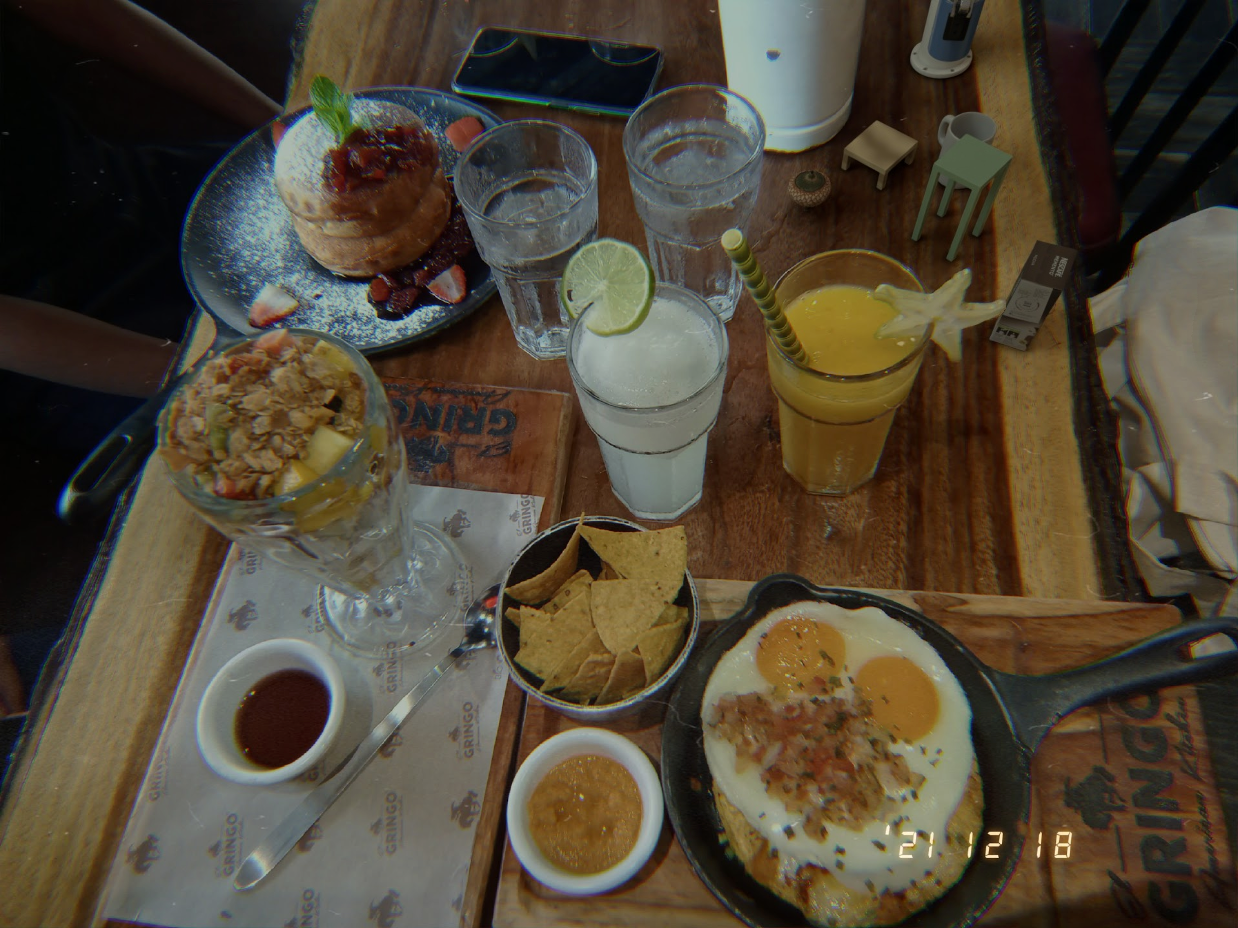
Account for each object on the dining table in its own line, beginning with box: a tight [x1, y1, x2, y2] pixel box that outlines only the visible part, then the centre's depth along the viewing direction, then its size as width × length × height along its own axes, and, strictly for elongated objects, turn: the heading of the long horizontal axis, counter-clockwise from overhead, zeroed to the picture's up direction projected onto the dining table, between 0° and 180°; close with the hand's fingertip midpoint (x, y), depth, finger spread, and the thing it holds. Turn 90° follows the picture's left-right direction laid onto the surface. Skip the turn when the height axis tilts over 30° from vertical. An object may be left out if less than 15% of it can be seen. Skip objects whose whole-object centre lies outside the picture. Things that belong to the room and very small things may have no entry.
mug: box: [937, 111, 998, 190], centre depth 141 cm, size 12×8×11 cm
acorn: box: [787, 169, 832, 212], centre depth 142 cm, size 8×8×10 cm
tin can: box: [928, 0, 986, 62], centre depth 113 cm, size 6×6×9 cm
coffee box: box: [989, 239, 1079, 352], centre depth 121 cm, size 9×6×16 cm
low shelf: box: [840, 120, 919, 191], centre depth 147 cm, size 10×10×5 cm
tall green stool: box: [911, 134, 1014, 262], centre depth 131 cm, size 9×9×18 cm
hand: (955, 23), depth 113 cm, fingers closed on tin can, 6 cm apart
